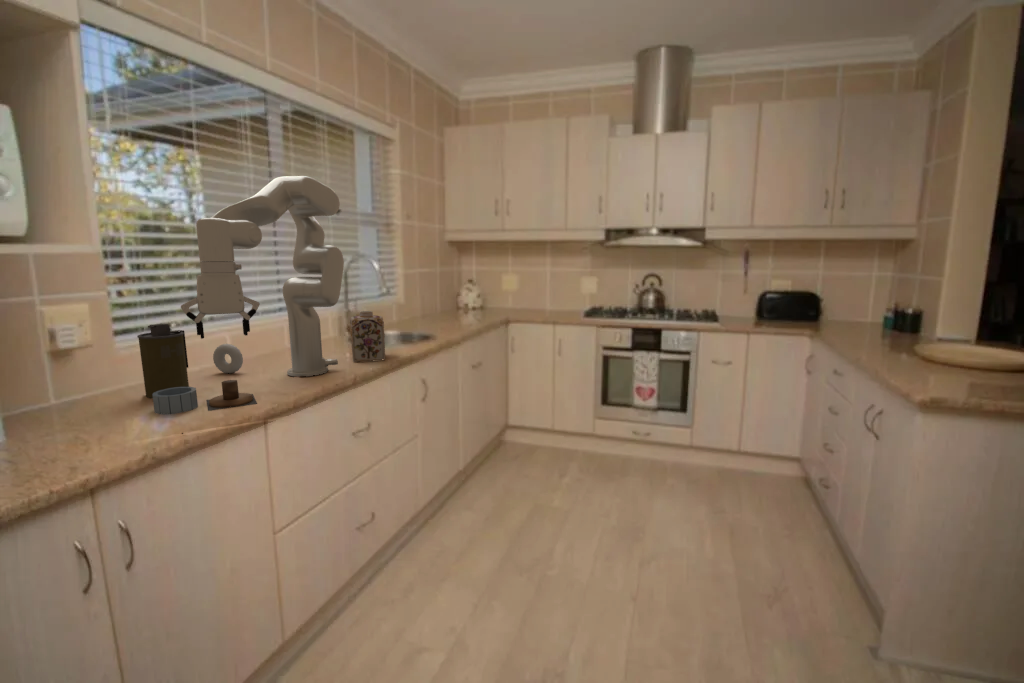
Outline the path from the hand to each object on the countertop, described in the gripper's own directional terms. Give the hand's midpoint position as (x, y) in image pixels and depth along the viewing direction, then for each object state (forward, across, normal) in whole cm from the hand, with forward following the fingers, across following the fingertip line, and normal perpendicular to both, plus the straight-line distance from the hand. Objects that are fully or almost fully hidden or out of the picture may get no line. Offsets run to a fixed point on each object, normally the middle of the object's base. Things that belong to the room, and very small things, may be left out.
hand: (224, 336), depth 127 cm
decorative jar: (+18, -48, -38) cm, 64 cm away
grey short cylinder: (+18, +12, -1) cm, 22 cm away
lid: (+18, 0, 0) cm, 18 cm away
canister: (+18, +14, -19) cm, 30 cm away
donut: (+18, -2, -39) cm, 43 cm away
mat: (+18, 0, 0) cm, 18 cm away
